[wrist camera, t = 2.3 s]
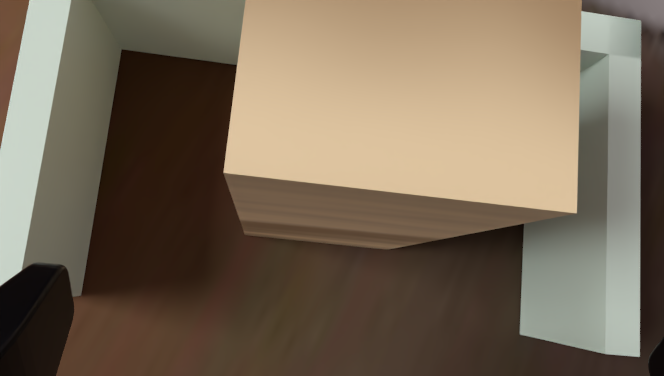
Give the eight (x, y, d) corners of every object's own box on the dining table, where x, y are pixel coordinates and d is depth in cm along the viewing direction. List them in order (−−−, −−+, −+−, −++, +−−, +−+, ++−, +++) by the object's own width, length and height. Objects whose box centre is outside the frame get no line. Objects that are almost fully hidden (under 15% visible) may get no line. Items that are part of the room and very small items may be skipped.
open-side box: (546, 336, 20) (639, 356, 15) (49, 292, 18) (-30, 299, 13) (554, 78, 22) (641, 20, 17) (97, 13, 20) (44, -74, 15)
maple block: (387, 249, 20) (577, 213, 8) (244, 234, 19) (223, 172, 7) (397, 113, 21) (583, -102, 9) (261, 95, 20) (266, -159, 8)
